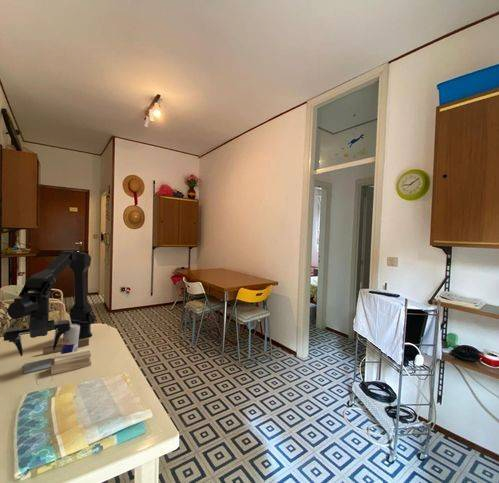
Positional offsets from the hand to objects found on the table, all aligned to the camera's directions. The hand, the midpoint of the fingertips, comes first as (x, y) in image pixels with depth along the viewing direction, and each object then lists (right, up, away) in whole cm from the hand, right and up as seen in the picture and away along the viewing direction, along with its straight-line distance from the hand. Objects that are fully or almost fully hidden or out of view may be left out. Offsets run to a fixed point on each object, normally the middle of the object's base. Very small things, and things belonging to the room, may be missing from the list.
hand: (38, 352), depth 98 cm
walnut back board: (0, -5, +15) cm, 16 cm away
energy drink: (+5, -5, +9) cm, 11 cm away
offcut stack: (+12, -6, +1) cm, 13 cm away
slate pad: (0, -5, 0) cm, 5 cm away
